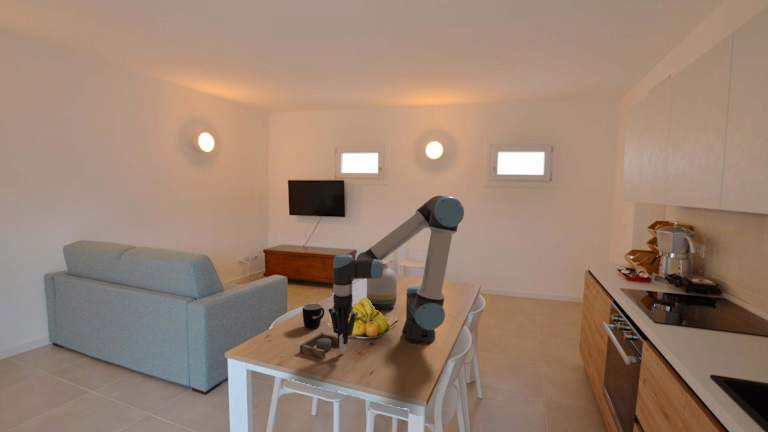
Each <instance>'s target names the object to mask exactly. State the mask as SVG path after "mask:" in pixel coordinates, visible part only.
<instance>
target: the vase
mask: <svg viewBox="0 0 768 432" xmlns="http://www.w3.org/2000/svg"><path fill="white" fill-rule="evenodd" d="M382 264H383V275H382V277H381V278H375V279H366V299H367V298H368V299H369V300H370V301H371V303H372V305H373V306H374V307H375V308H376V310H388V309H391V308H393V307H394V306H395V305H396V302H397V299H398V298H397V296H398V293H397V292H398V278H397V274H396V272H395V271H393V270H392V269H391V268H390V267H389V265H388V264H387V263H382ZM375 308H374V309H375Z"/></svg>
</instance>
